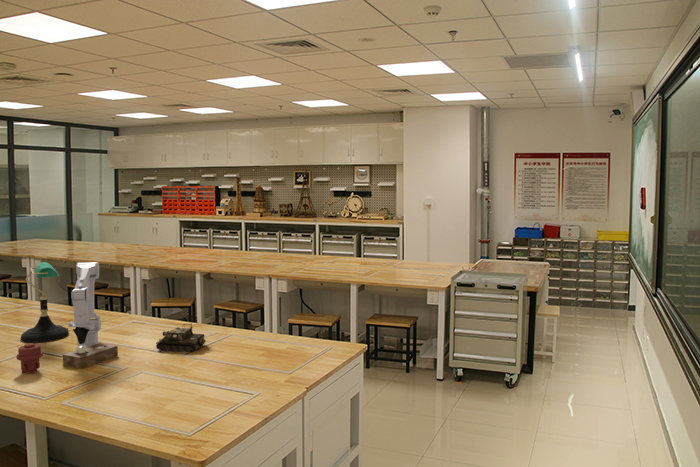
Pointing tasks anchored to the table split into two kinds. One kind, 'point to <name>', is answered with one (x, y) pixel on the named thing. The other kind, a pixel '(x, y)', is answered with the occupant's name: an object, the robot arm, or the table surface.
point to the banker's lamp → (44, 313)
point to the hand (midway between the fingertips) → (82, 343)
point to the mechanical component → (29, 357)
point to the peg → (81, 350)
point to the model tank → (180, 340)
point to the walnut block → (90, 356)
